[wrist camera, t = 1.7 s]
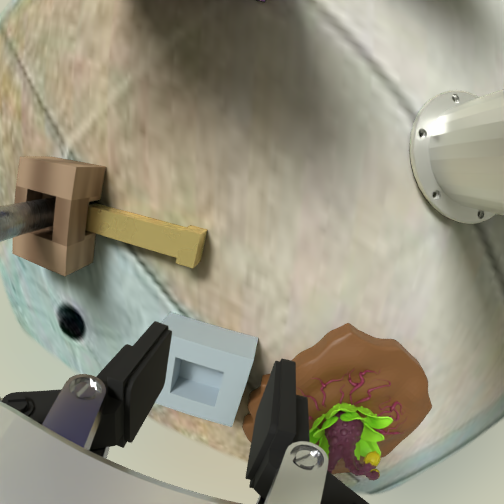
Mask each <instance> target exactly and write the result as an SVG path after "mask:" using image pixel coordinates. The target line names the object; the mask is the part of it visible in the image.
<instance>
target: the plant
mask: <svg viewBox="0 0 504 504" xmlns="http://www.w3.org/2000/svg"><path fill="white" fill-rule="evenodd" d="M292 361H294V362H296V395H300V396H305V397H307V399H308V414H309V437H310V442H311V443H313V444H316V445H318V446H319V447H321V448H322V449H323V450H324V451H325V452H326V454H327V456H328V468H327V471H329V472H330V473H331V474H336V473H345V472H352V473H353V474H355V475H356V476H358V475H366V477H368V478H369V480H376V479H378V478H379V476H380V474H379V471H378V470H377V469H374V468H376V466H377V465H378V464H379V462H380V458H382V457H384V456H386V455H387V454H389V453H390V452H391V451H392V450H393V449H394V448H395V447H396V446H397V445H398V444H399V443H400V442H401V441H402V440H403V439H405V438H406V437H407V436H408V435H409V434H411V433H412V432H413V431H414V430H415V429H416V428H417V427H418V426H419V425H420V423H421V422H422V421H423V419H424V418H425V417H426V415H427V414H428V413H429V411H430V410H431V408H432V405H431V401H430V398H429V395H428V380H427V377H426V375H425V373H424V371H423V369H422V367H421V366H420V364H419V362H418V361H417V360H416V359H415V358H414V357H413V356H412V355H411V354H410V353H409V352H408V351H407V350H406V349H405V348H404V347H403V346H402V345H401V344H400V343H399V342H397V341H396V340H394V339H379V338H374V337H372V336H370V335H368V334H365V333H364V332H362V331H359V330H358V329H356V328H355V327H354V326H352V325H351V324H349V323H347V324H345V325H343V326H341V327H339V328H337V329H334V330H332V331H330V332H329V333H327V334H326V335H325V336H324V337H323V338H322V339H321V340H320V341H319V342H318V343H317V344H316V345H314V346H313V347H311V348H309V349H307V350H304V351H303V352H301V353H299V354H298V355H297V356H296V357H295V358H294V359H293V360H292ZM269 377H270V374H267V375H263V376H262V380H261V386H260V387H259V388H257V389H255V390H254V391H252V392H251V393H250V396H249V401H248V409H249V411H250V414H248V415H246V416H245V417H244V421H243V426H242V427H243V430H244V432H245V435H246V436H247V438H248V440H249V441H250V442H252V436H253V430H254V423H255V417H256V413H257V409H258V406H259V404H260V401H261V399H262V396H263V393H264V391H265V388H266V385H267V382H268V380H269Z"/></svg>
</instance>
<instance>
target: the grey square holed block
mask: <svg viewBox="0 0 504 504" xmlns="http://www.w3.org/2000/svg"><path fill="white" fill-rule="evenodd" d="M162 324H165V325H168V328H169V329H168V330H171V331H172V338H171V344H170V351H169V358H168V365H167V372H166V379H165V384H164V387H163V389H162V391H161V393H160V394H159V396H158V398H157V400H156V401H155V403H157V404H160V405H163V406H165V407H168V408H171V409H174V410H177V411H180V412H183V413H186V414H189V415H192V416H195V417H199V418H202V419H205V420H209V421H212V422H216V423H219V424H223V425H226V426H230V427H232V425H233V422H234V419H235V416H236V413H237V410H238V407H239V404H240V401H241V398H242V395H243V392H244V389H245V386H246V383H247V380H248V377H249V373H250V370H251V367H252V364H253V361H254V357H255V351H256V346H257V341H258V338H257V337H254V336H250V335H246V334H243V333H239V332H235V331H232V330H228V329H225V328H221V327H218V326H215V325H211V324H208V323H205V322H201V321H198V320H195V319H191V318H188V317H185V316H182V315H179V314H176V313H173V312H170V313H169V314H168V315H167V317H166V318H165V319H164V320H163V321H162Z"/></svg>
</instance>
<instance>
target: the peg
mask: <svg viewBox="0 0 504 504" xmlns="http://www.w3.org/2000/svg"><path fill="white" fill-rule="evenodd" d="M55 203H56V197H51V198H45V199H39V200H33V201H27V202H21V203H16V204H10V205H5V206H0V242H1V241H4V240H7V239H10V238H13V237H17V236H20V235H23V234H27V233H30V232H33V231H37V230H40V229H44V228H47V227H51V226H53V224H54V213H55Z"/></svg>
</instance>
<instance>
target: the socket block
mask: <svg viewBox="0 0 504 504" xmlns="http://www.w3.org/2000/svg"><path fill="white" fill-rule="evenodd" d="M105 170H106V167H104V166H99V165H94V164H89V163H83V162H78V161H73V160H67V159H62V158H56V157H20V160H19V167H18V174H17V183H16V192H15V204H16V203H21V202H27V201H33V200H39V199H45V198H51V197H56V203H55V213H54V224H53V226H51V227H47V228H44V229H40V230H37V231H33V232H30V233H27V234H23V235H20V236H17V237H13V254H15V255H17V256H19V257H22V258H24V259H26V260H28V261H30V262H33V263H35V264H37V265H40V266H42V267H44V268H46V269H49V270H51V271H54V272H56V273H58V274H61V275H63V276H67V275H69V274H71V273H73V272H75V271H77V270H79V269H81V268H83V267H85V266H87V265H89V264H91V263H93V258H94V247H95V238H96V233H93V232H90V231H86V230H85V229H86V220H87V212H88V205H89V202H90V201H95V200H101V193H102V187H103V181H104V176H105Z"/></svg>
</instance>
